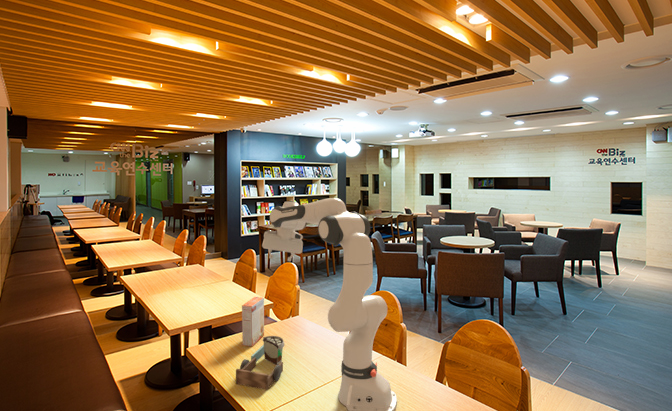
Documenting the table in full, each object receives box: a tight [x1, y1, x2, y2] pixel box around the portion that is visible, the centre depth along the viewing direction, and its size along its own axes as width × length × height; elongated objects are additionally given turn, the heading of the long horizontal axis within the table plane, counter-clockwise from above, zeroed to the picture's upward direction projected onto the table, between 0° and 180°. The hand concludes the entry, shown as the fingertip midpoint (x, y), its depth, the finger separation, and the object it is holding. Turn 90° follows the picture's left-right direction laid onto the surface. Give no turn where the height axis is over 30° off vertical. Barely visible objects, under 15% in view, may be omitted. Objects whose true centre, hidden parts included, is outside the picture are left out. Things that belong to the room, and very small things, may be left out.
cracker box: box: [241, 296, 265, 347], centre depth 186 cm, size 14×6×21 cm, turn 166°
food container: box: [262, 335, 285, 366], centre depth 166 cm, size 12×6×10 cm, turn 47°
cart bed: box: [235, 357, 284, 391], centre depth 152 cm, size 16×15×6 cm
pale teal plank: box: [250, 344, 264, 363], centre depth 168 cm, size 14×1×4 cm, turn 164°
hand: (279, 259), depth 181 cm, fingers open, 8 cm apart
